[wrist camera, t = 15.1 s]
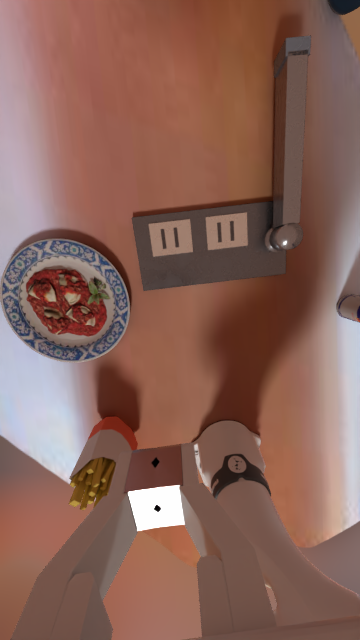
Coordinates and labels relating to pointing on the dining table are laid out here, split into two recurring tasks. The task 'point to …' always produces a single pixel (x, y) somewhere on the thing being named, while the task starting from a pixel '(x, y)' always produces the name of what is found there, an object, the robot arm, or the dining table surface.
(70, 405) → the dining table surface
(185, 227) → the double power outlet
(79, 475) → the french fries container
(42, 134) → the dining table surface
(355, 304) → the energy drink
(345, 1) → the soda can
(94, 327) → the ceramic plate
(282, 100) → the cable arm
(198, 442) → the robot arm
